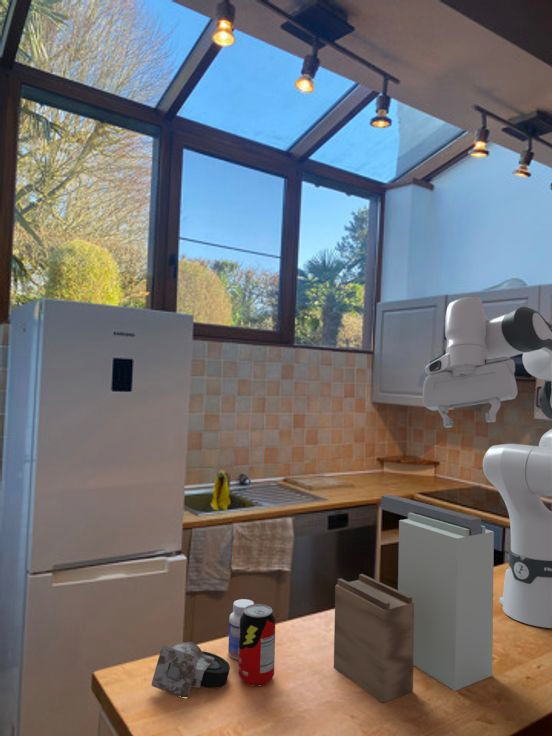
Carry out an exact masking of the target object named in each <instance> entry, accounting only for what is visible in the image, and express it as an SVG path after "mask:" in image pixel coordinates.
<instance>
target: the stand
mask: <svg viewBox="0 0 552 736" xmlns="http://www.w3.org/2000/svg"><path fill="white" fill-rule="evenodd" d="M494 539H495V533H494V531H493V530H490V529H487V528H486V526H485V525H482V524H481V534H478V535H473V536H470V535H469V529H467V528H463V527H460V526H456V525H453V524H449V523H446V522H442V521H439V520H435V519H432V518H428V517H425V516H421V515H418V514H415V513H408V517H407V518H405V519H400V520H398V562H397V563H398V564H397V567H398V568H397V569H398V571H397V572H398V573H397V574H398V576H397V590H398V591H400V592H402V593H404V594H406V595H409V596H411V597H412V602H414V652H413V667H415V668H417V669H418V670H420V671H422V672H423V673H425V674H427V675H428V676H430V677H431V678H433V679H435V680H437V681H439V683H442V684H443V685H444V686H446V687H448V688H450V689H451V690H453V691H454V692H455V691H459V690H461V689H463V688H466V687H468V686H470V685H473V684H475V683H478V682H481V681H482V680H485V679H487V678H488V679H489V678H490V677H492V676H493V658H494V657H493V655H494V654H493V648H494V647H493V645H494V644H493V643H494V641H493V640H494V639H493V638H494V637H493V636H494V565H495V563H494V556H495V555H494V550H495V548H494V546H495V540H494Z"/></svg>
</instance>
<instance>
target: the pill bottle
mask: <svg viewBox="0 0 552 736" xmlns="http://www.w3.org/2000/svg"><path fill="white" fill-rule="evenodd" d="M253 604H255V602H254V601H253V600H251V599H246V598H245V599H244V598H243V599H242V598H240V599H237V600H234V602H233V605H232V612H231V613H230V614H229V618H228V619H229V620H228V645H227V646H228V651H227V652H228V656H229V657H230V658H232V659H234V660H238V661H239V634H240V618H241V616H242V615H243V613H244V608H245V607H247V606H249V605H253Z"/></svg>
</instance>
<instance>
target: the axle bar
mask: <svg viewBox="0 0 552 736" xmlns="http://www.w3.org/2000/svg"><path fill="white" fill-rule="evenodd" d="M380 504H381V505H380V509H381V510H383V511H387V512H390V513H393V514H397V515H400V516H403V517H407V518H408V513H415V514H418V515H421V516H425V517H428V518H432V519H435V520H439V521H442V522H446V523H449V524H453V525H456V526H460V527H463V528H467V529H469V535H470V536H473V535H478V534H481V525H482V518H481V517H479V516H478V517H477V516H475V515H474V516H473V515H470V514H465V513H463V512H459V511H454V510H451V509H448V508H444V507H439V506H436V505H432V504H427V503H424V502H421V501H417V500H413V499H409V498H405V497H401V496H398V495H393V494H386V495H381V501H380Z"/></svg>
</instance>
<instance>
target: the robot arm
mask: <svg viewBox="0 0 552 736" xmlns="http://www.w3.org/2000/svg"><path fill="white" fill-rule="evenodd" d="M444 336H445V338H446V343H447V344H446V349H445V354H444V355H442V356H440V357H439V358H438V359H436V360H434V361H432V362H431V363H428V364H427V365H426V366H425V371H424V372H425V374H427V376H426V377H425V379H424V381H423V385H422V386H423V387H422V404H423V406H424V407H425V408H426V409H428V410H430V411H433V412H434V411H438V413H439V415H440V417H441V418H442V419H443V420H442V422H443V427H444V428H446V429H448V428H453V427H454V419H452V418H451V417H449V416H448V414H449V411H450V410H449V409H455V408H461V407H468V406H475V405H476V406H477V405H481V404H482V405H483V404H488V403H489V404H490V405H491V407H490V409H489V411H488V412H485V422H486V423H490V424H491V423H496V422H497V414H498V412H499V409H500V407H501V405H502V404H501V402H504V401H510V400H514V399H516V397H517V395H518V394H519V392H518V385H517V381H516V377H515V372H516V363H515V360H514V359H513V358H511V357H515V356H519V355H522V357H521V358H522V364H523V366H524V369H525V370H526V372H527V373H528V374H530V375H531V376H533V377H535V378H536V379H539V380H542V381H544V382H543V384H542V386H541V388H540V390H539V393H538V401H537V402H538V405H539V408H540V409H539V410H540V411H541V413H543V415H544V416H546V418H547V419H549V420H552V324H551V323H550V322H548V321H547V320H546V319H545V318H544V317H543V316H542V314H540V313H539V312H538V311H536V310H535V309H533V308H530V307H528V306H520V307H519V308H516V309H514V310H511V311H509V312H507V313H506V314H502V315H500V316H497V317H494V318H492V319H490V318H489V317H488V316H487V315H486V312H485V308H484V305H483V301H482V299H481V297H479V296H475V295H474V296H473V295H466V296H462V297H460V298H456V299H454V300H452V301H451V302H449V304H447V308H446V312H445V320H444ZM482 469H483V470H482V471H483V473H484V474H483V475H484V476H485V478H486V479H487V481H488V482H489V483H491V485H493V487H494V488H495V489H496V490H497V491H498V492H499V494H500V497H502V500H503V502H504V503H505V507H506V509H507V513H508V517H509V525H510V549H509V550H508V556H507V559H508V566H509V567H508V568H507V569H506V570H505V575H504V583H503V594H502V596H499V600H498V601H499V603H500V604H501V606H502V611H503V613H504V614H505V615H507V616H508V617H510V618H511V619H513V620H515V621H518V622H521V623H524V624H526V625H530V626H534V627H540V628H546V629H547V628H548V629H552V511H551V510H550V509H549V508H547V506H546V505H545V504H544V502H543V501H542V499H541V495H542V496H548V497H552V428H551V429H549V430H548V431H547V432H544V434H543V435H542V436H541V438H540V440H539V443H538V446H537V445H530V444H529V445H528V444H518V443H504V444H503V443H502V444H497V445H496V444H495V445H492V446H490V447H489V448H488V449H487V450H486V452H485V454H484V457H483V459H482Z"/></svg>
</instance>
